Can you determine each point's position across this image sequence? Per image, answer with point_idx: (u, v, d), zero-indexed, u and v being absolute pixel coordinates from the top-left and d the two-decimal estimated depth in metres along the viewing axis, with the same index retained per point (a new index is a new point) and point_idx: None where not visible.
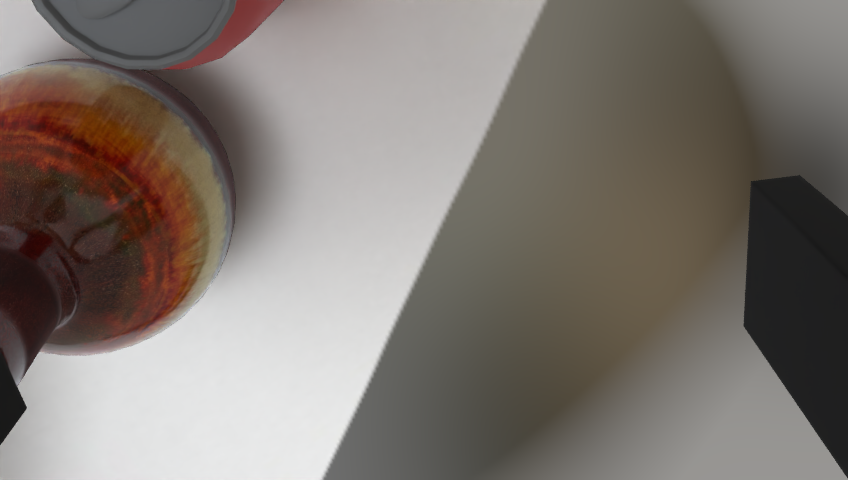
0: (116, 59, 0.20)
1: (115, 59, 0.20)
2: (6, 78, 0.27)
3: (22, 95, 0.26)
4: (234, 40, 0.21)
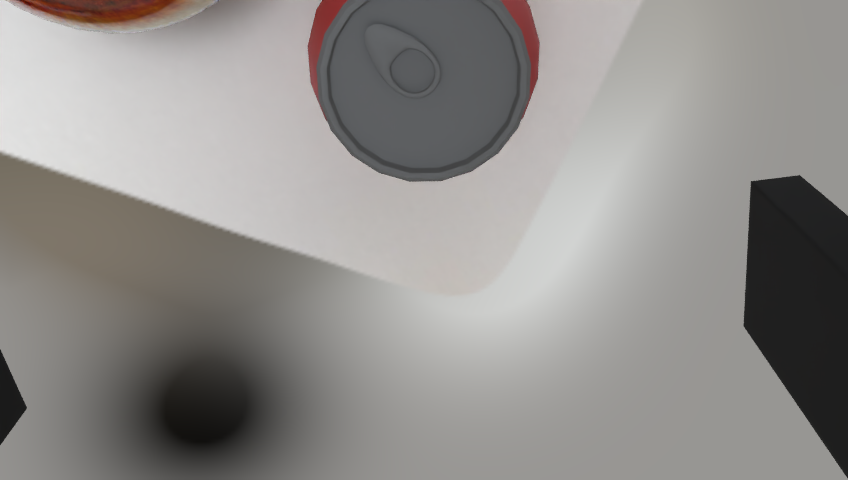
0: (326, 60, 0.20)
1: (326, 59, 0.20)
2: None
3: None
4: None
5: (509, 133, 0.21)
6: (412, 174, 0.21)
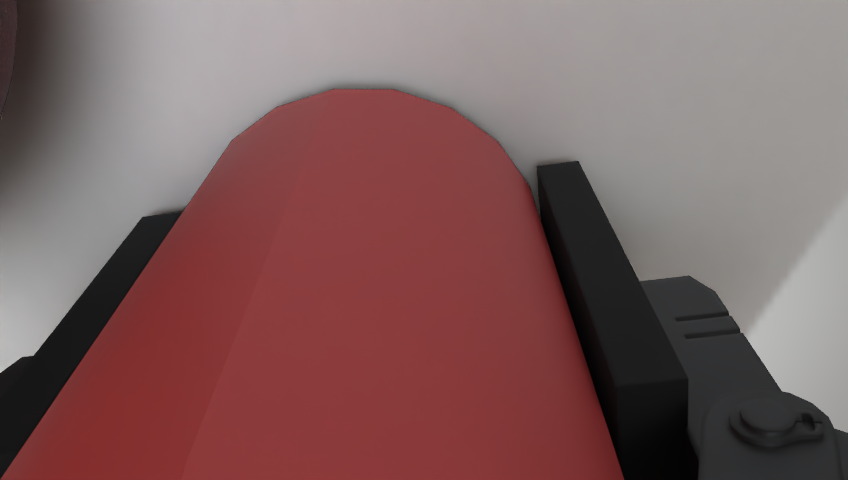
0: None
1: None
2: None
3: None
4: None
5: None
6: None
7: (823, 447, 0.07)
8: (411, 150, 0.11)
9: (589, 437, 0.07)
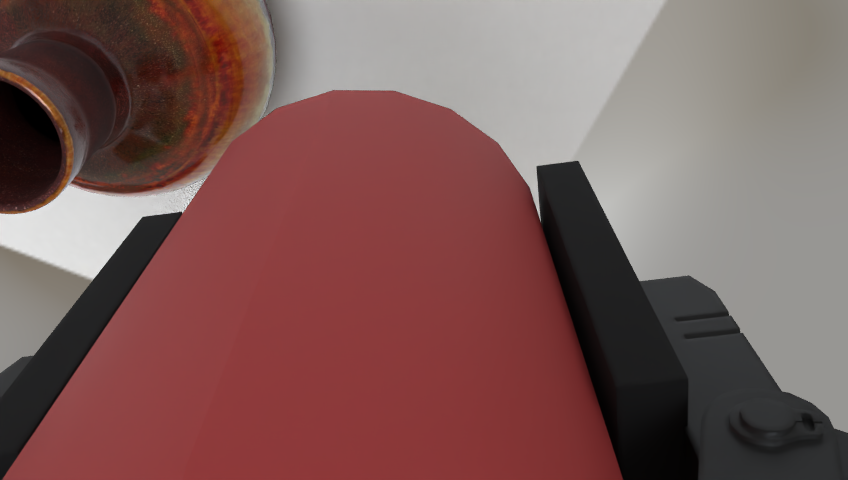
0: None
1: None
2: (260, 28, 0.29)
3: (249, 67, 0.28)
4: None
5: None
6: None
7: (823, 447, 0.07)
8: (411, 151, 0.11)
9: (588, 439, 0.07)
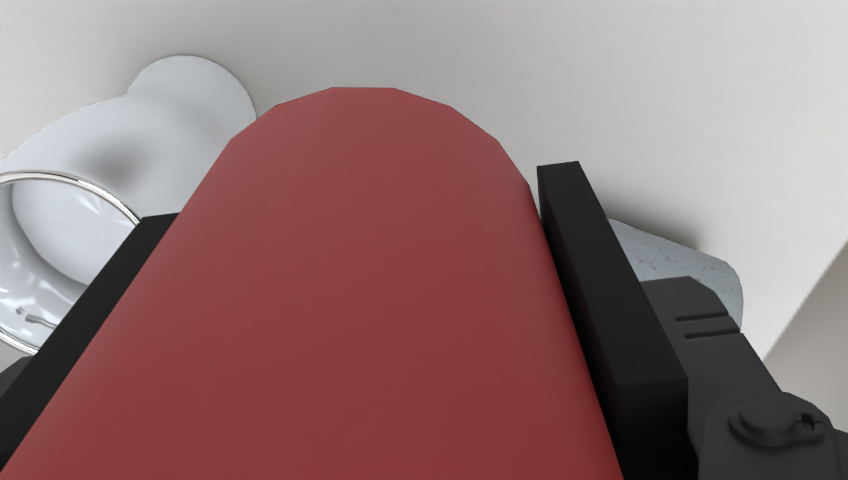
0: None
1: None
2: None
3: None
4: None
5: None
6: None
7: (823, 447, 0.07)
8: (410, 148, 0.11)
9: (588, 435, 0.07)
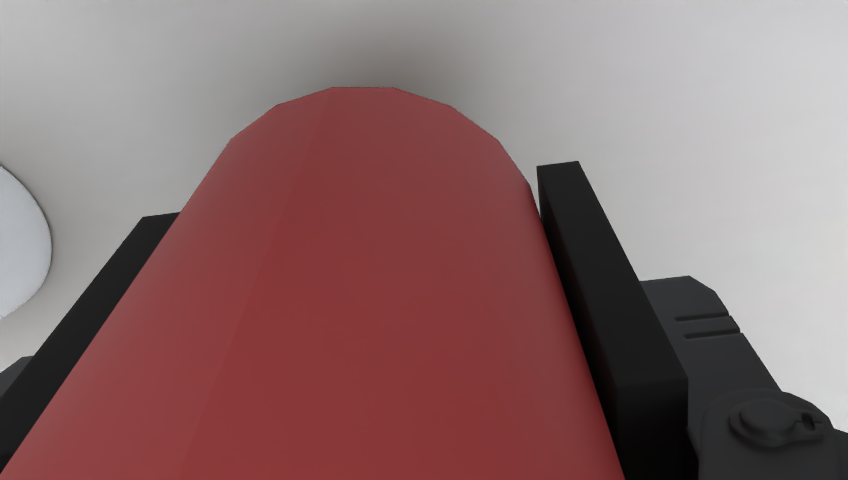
0: None
1: None
2: None
3: None
4: None
5: None
6: None
7: (823, 447, 0.07)
8: (410, 148, 0.11)
9: (589, 435, 0.07)
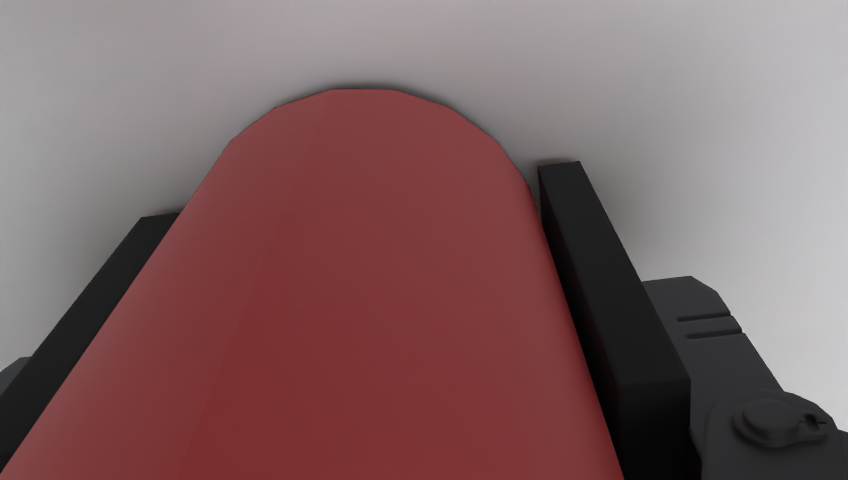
0: None
1: None
2: None
3: None
4: None
5: None
6: None
7: (826, 447, 0.07)
8: (410, 150, 0.11)
9: (590, 439, 0.07)
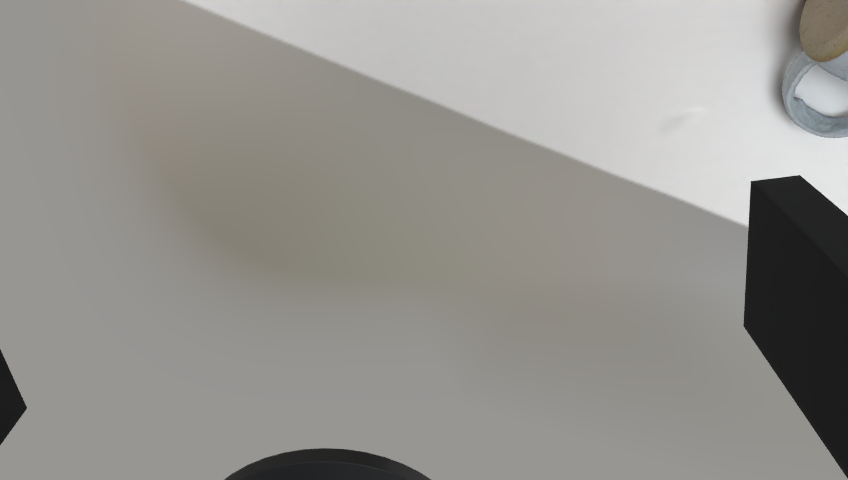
0: None
1: None
2: None
3: None
4: None
5: None
6: None
7: None
8: None
9: None
